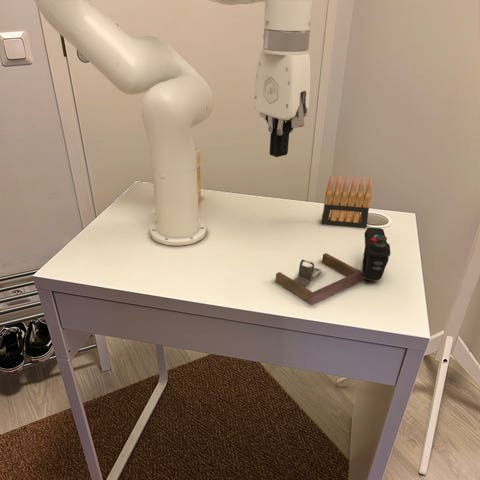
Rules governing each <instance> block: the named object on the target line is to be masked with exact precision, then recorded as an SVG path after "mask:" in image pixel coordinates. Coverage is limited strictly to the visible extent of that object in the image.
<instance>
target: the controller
mask: <svg viewBox="0 0 480 480" xmlns="http://www.w3.org/2000/svg"><path fill="white" fill-rule="evenodd" d="M387 240H388V238H387V236H386V233H385V230H384V229H383V228H380V227H366V230H365V231H364V251H363V256H362V257H363V258H362V271H361V272H363V278H364V279H365V280H367V281H373V282H375V281H380V280H381V279H382V278H383V275H384V272H385V270H386V266H387V265H388V263H389V257H390V256H391V254H392V253H391V245H390V243H388V242H387Z"/></svg>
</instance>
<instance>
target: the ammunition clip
mask: <svg viewBox="0 0 480 480" xmlns="http://www.w3.org/2000/svg"><path fill="white" fill-rule="evenodd" d="M365 183H366V181H365V177H364V176H361V179H360V182H359V184H358V180H357V176H356V175H355V176H354V177H353V179H352V182H351V185H350V177H349V175H346V177H345V179H344V182H343V187H342V176H341V174H339V175H338V176H337V179H336V182H335V187H334V176H333V174H331V175H330V176H329V179H328V182H327V187H326V191H325V197H324V204H323V211H322V215H321V223H320V224H321V225H322V226H324V225H325V226H335V227H346V228H358V229H367V225H368V218H369V212H370V211H369V210H370V205H371V200H372V190H373V189H372V188H373V177H370V178H369V179H368V181H367V185H366V189H365ZM357 184H358V189H357ZM349 187H350V189H349ZM341 189H342V191H341ZM349 190H350V191H349ZM364 191H365V192H364Z"/></svg>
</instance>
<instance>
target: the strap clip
mask: <svg viewBox="0 0 480 480" xmlns="http://www.w3.org/2000/svg"><path fill="white" fill-rule="evenodd" d="M303 263H305V264H306V263H307V264H310V265H309V266H306V265H304V264H303ZM321 272H322V270H321V268H318V267H315V263H314V262H312V261H310V260H306V259H300V263H299V267H298V276H297V277H295V278H294V279H293V280H294V281H295V282H297V283H299V284H300V285H302V286H303V287H305V288H307V287H308V286H310V283H311V281H314V280H315V279H316V278H318V277H319V276H320V275H321Z"/></svg>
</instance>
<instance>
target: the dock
mask: <svg viewBox="0 0 480 480" xmlns="http://www.w3.org/2000/svg"><path fill="white" fill-rule="evenodd" d="M321 263H322V264H323V265H325V266H327V267H329V268H331V269H333V270H334V271H336V272H338V273H340V274H342V275H343V276H345V277H343V278H341V279H339V280H335V281H334V282H332V283H329V284H328V285H325V286H323V287H321V288H319V289H317V290H314V291H312V290H310V289H308V288H307V287H306V288H305V287H303V286H302V285H300V284H299V283H297V282H295V281H294V280H295V279H292V278H291V277H289V276H288V275H286V274H284V273H282V272H281V271H279V272H277V273H275V283H276V284H278V285H279V286H281V287H282V288H284V289H286V291H288V292H290V293H292V294H293V295H295V296H297V297H298V298H299V299H301V300H303V301H304V302H306V303H308V304H309V305H310V306H313V305H315V304H317V303H320V302H322V301H323V300H325V299H328V298H330V297H332V296H334V295H337V294H339V293H341V292H343V291H345V290H347V289H349V288H351V287H353V286H355V285H357V284H360V283H361V282H363V278H364V277H363V272H362V271H361V270H359V269H358V268H355V267H353V266H352V265H349V264H348V263H346V262H344V261H342V260H340V259H339V258H336V257H334V256H332V255H331V254H328V253H327V252H326V253H323V254H322V258H321Z"/></svg>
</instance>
